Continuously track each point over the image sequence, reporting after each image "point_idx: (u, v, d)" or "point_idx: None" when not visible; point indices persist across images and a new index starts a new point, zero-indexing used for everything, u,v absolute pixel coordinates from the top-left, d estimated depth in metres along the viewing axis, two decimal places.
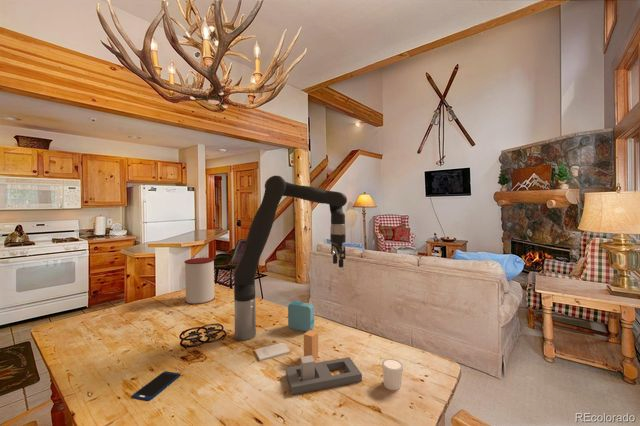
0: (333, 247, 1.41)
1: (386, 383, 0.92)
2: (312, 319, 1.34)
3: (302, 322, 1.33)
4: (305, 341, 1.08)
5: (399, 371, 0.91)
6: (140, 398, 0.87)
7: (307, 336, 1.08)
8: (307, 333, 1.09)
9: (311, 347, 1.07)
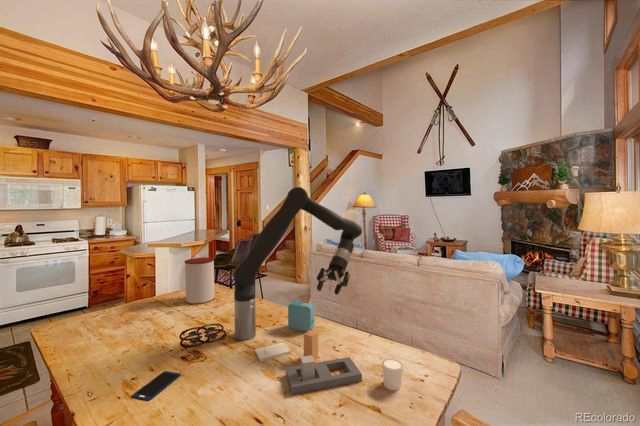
0: (330, 271, 1.23)
1: (386, 383, 0.92)
2: (312, 319, 1.34)
3: (302, 322, 1.33)
4: (305, 341, 1.08)
5: (399, 371, 0.90)
6: (140, 398, 0.87)
7: (307, 336, 1.08)
8: (307, 333, 1.09)
9: (311, 347, 1.07)
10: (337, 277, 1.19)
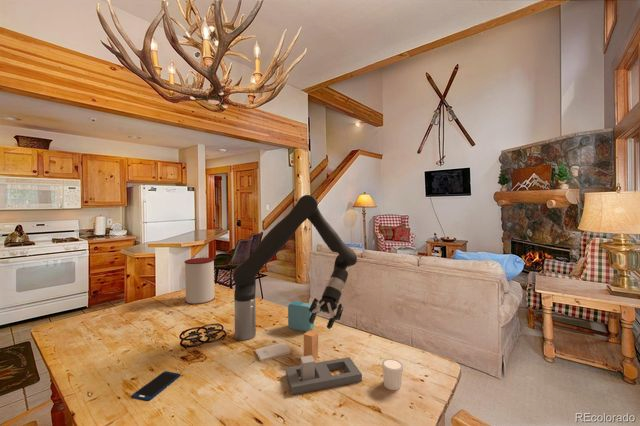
0: (323, 302, 1.19)
1: (386, 383, 0.92)
2: None
3: (302, 322, 1.33)
4: (305, 341, 1.08)
5: (399, 371, 0.91)
6: (140, 398, 0.87)
7: (307, 336, 1.08)
8: (307, 333, 1.09)
9: (311, 347, 1.07)
10: (330, 310, 1.15)
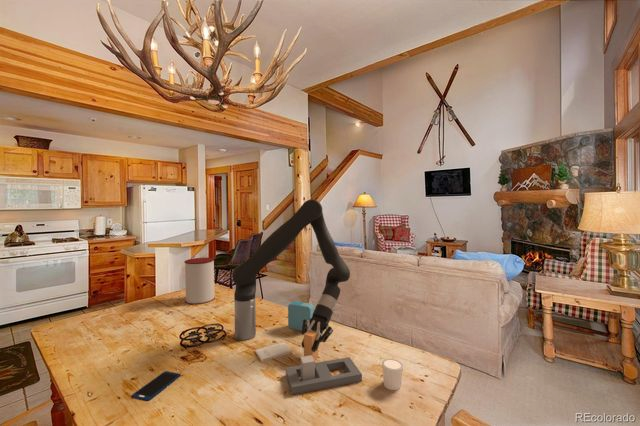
0: (313, 321, 1.13)
1: (386, 383, 0.92)
2: None
3: (302, 322, 1.33)
4: (305, 341, 1.08)
5: (399, 371, 0.91)
6: (139, 398, 0.87)
7: (307, 336, 1.08)
8: (307, 333, 1.09)
9: (311, 347, 1.07)
10: (317, 331, 1.10)
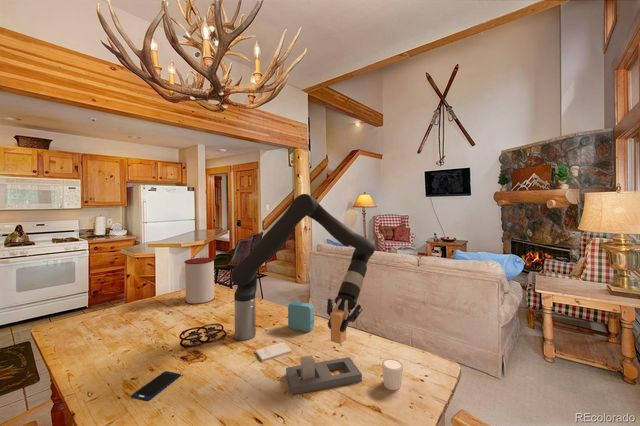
0: (340, 300, 1.02)
1: (386, 383, 0.92)
2: (312, 319, 1.34)
3: (302, 322, 1.33)
4: (332, 321, 0.98)
5: (399, 371, 0.91)
6: (139, 398, 0.87)
7: (334, 315, 0.97)
8: (334, 312, 0.98)
9: (339, 327, 0.96)
10: (345, 310, 0.99)
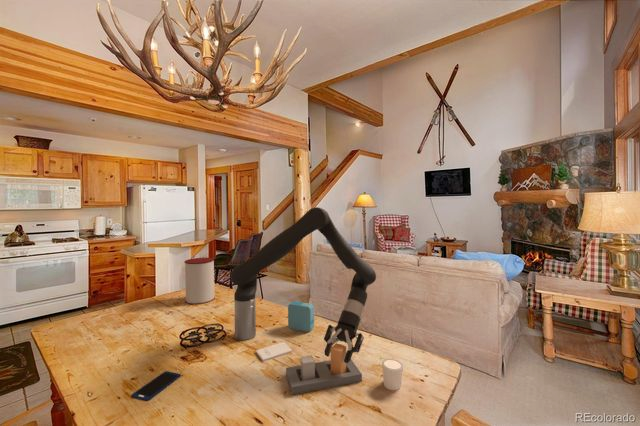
0: (340, 330, 1.02)
1: (386, 383, 0.92)
2: (312, 319, 1.34)
3: (302, 322, 1.33)
4: (332, 356, 0.98)
5: (399, 371, 0.90)
6: (139, 398, 0.87)
7: (335, 351, 0.97)
8: (334, 347, 0.98)
9: (339, 363, 0.96)
10: (348, 340, 0.99)
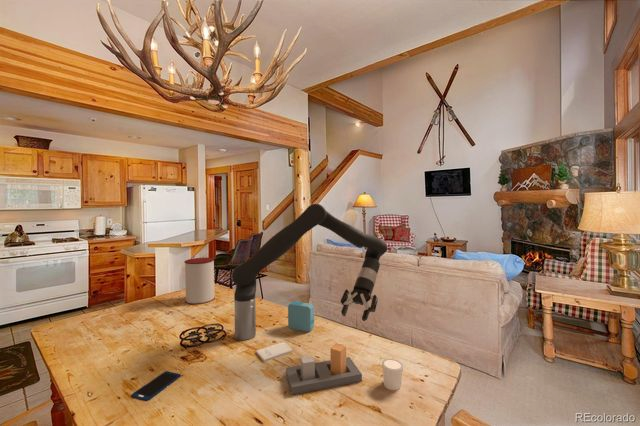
0: (356, 294, 1.12)
1: (386, 383, 0.92)
2: (312, 319, 1.34)
3: (302, 322, 1.33)
4: (332, 356, 0.98)
5: (399, 371, 0.90)
6: (139, 398, 0.87)
7: (335, 351, 0.97)
8: (334, 347, 0.98)
9: (339, 363, 0.96)
10: (364, 301, 1.09)
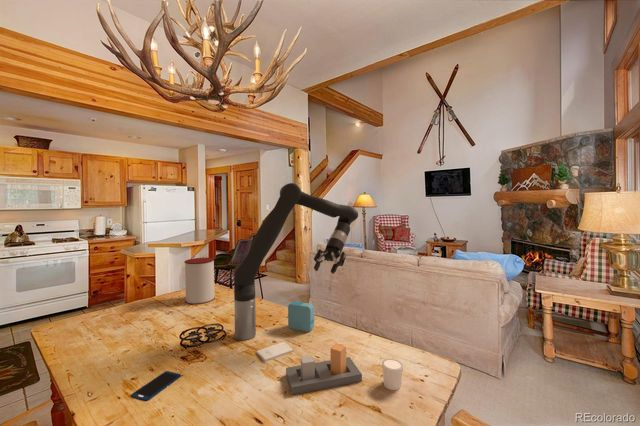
0: (327, 251, 1.27)
1: (386, 383, 0.92)
2: (312, 319, 1.34)
3: (302, 322, 1.33)
4: (332, 356, 0.98)
5: (399, 371, 0.91)
6: (138, 398, 0.87)
7: (335, 351, 0.97)
8: (334, 347, 0.98)
9: (339, 363, 0.96)
10: (333, 257, 1.24)
